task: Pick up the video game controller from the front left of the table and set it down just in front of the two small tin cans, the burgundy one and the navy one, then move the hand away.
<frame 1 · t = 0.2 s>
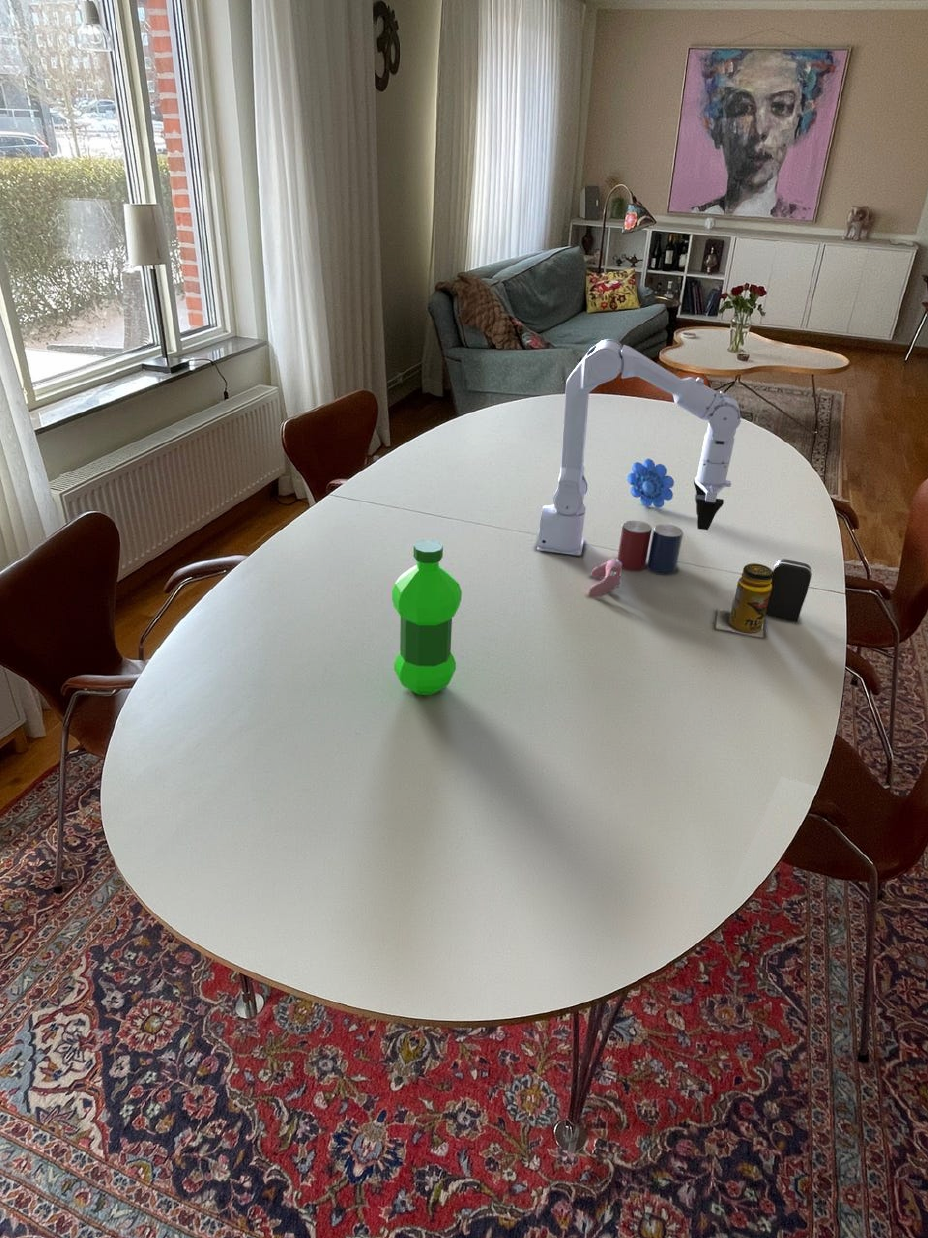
hand: (702, 521, 173), 10 cm above the table, tool pointing down, fingers open, 7 cm apart
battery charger: (779, 616, 161), on the table
tin can navy: (661, 567, 176), on the table
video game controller: (604, 589, 167), on the table
plastic bottle: (424, 686, 135), on the table
tin can burgundy: (631, 563, 177), on the table
blue flower: (645, 508, 205), on the table
condiment: (739, 625, 157), on the table
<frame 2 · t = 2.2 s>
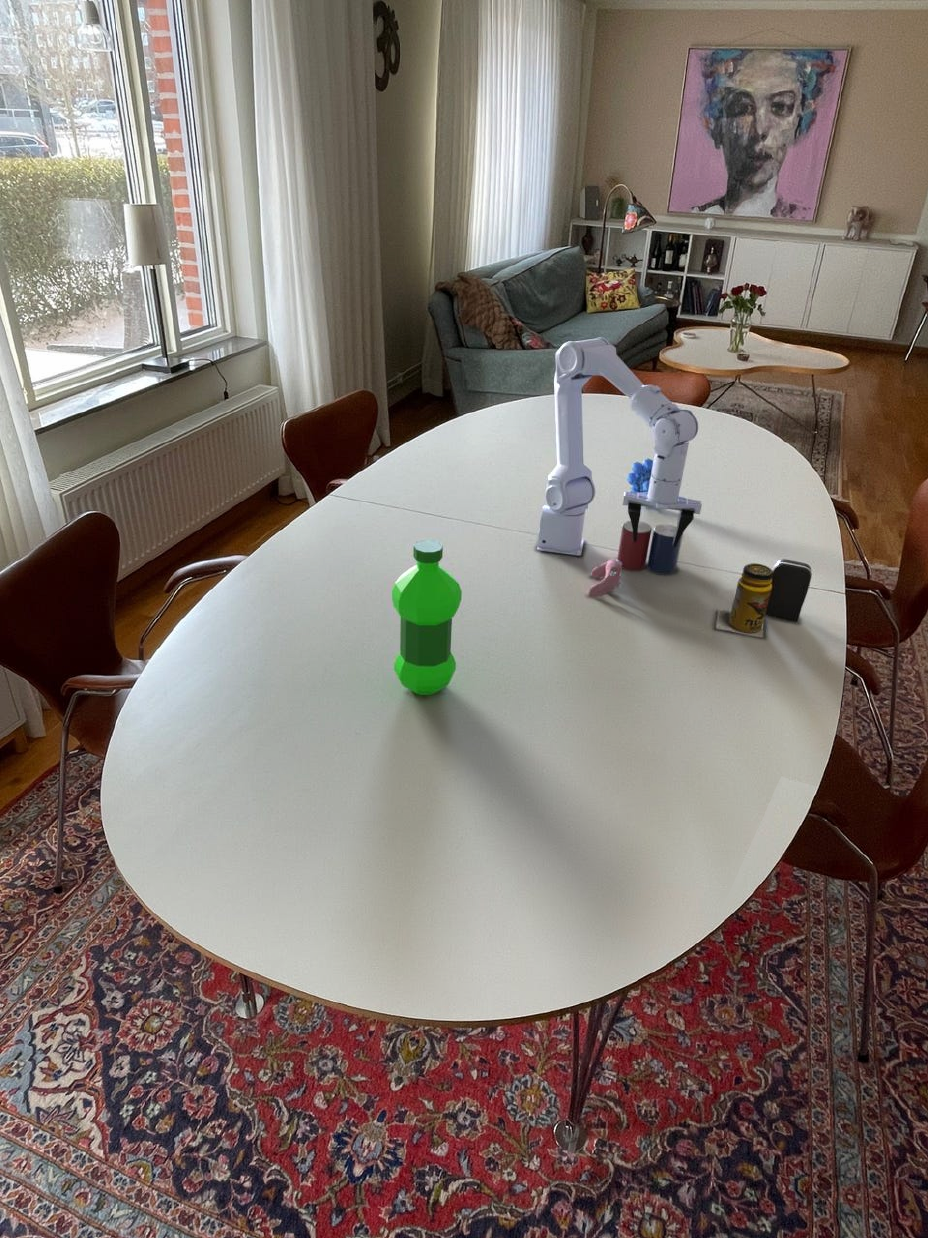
hand: (654, 542, 163), 10 cm above the table, tool pointing down, fingers open, 7 cm apart
nothing on the table moved.
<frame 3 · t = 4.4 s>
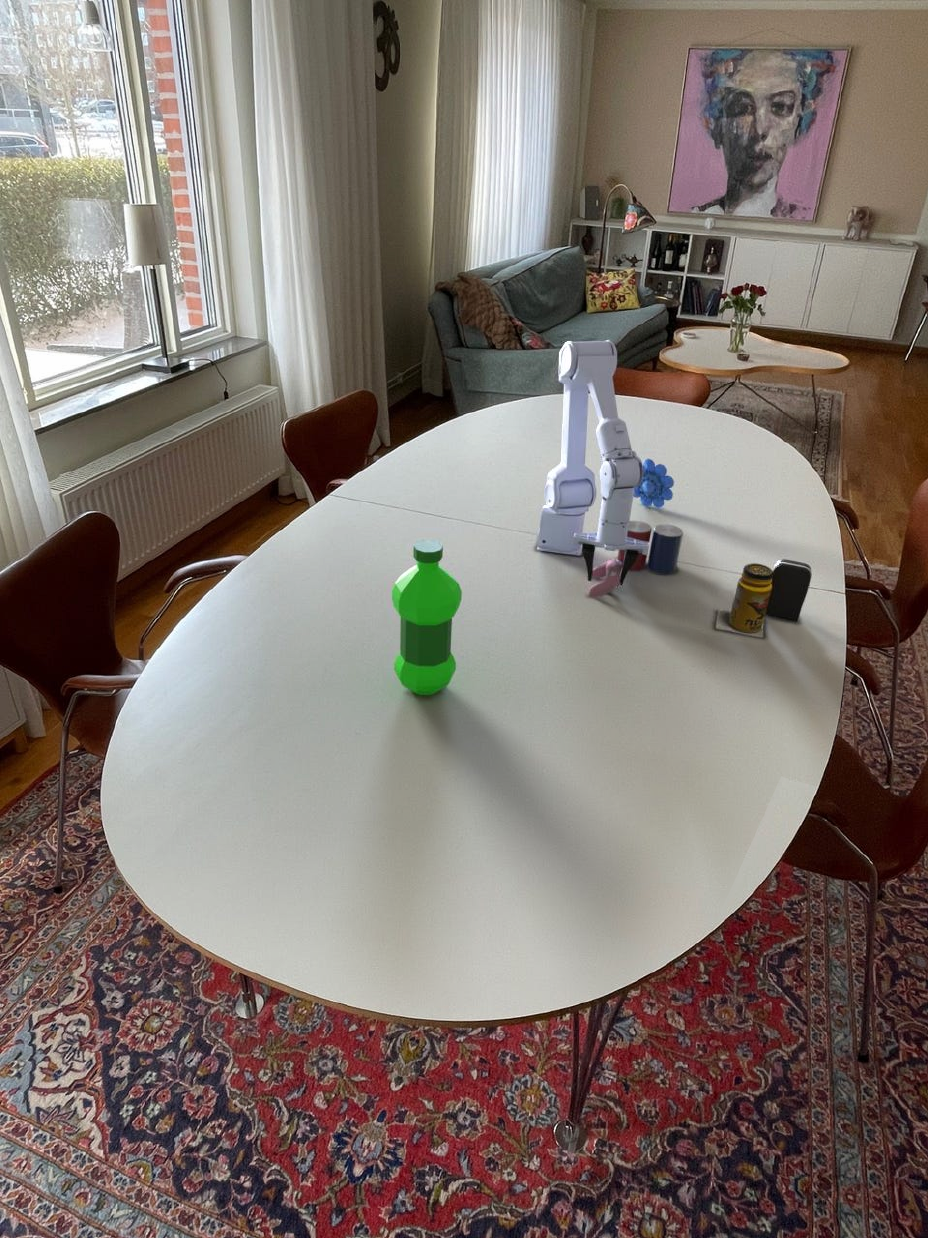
hand: (605, 581, 166), 2 cm above the table, tool pointing down, fingers closed on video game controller, 5 cm apart
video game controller: (604, 589, 167), on the table, touching gripper
everything else where it was.
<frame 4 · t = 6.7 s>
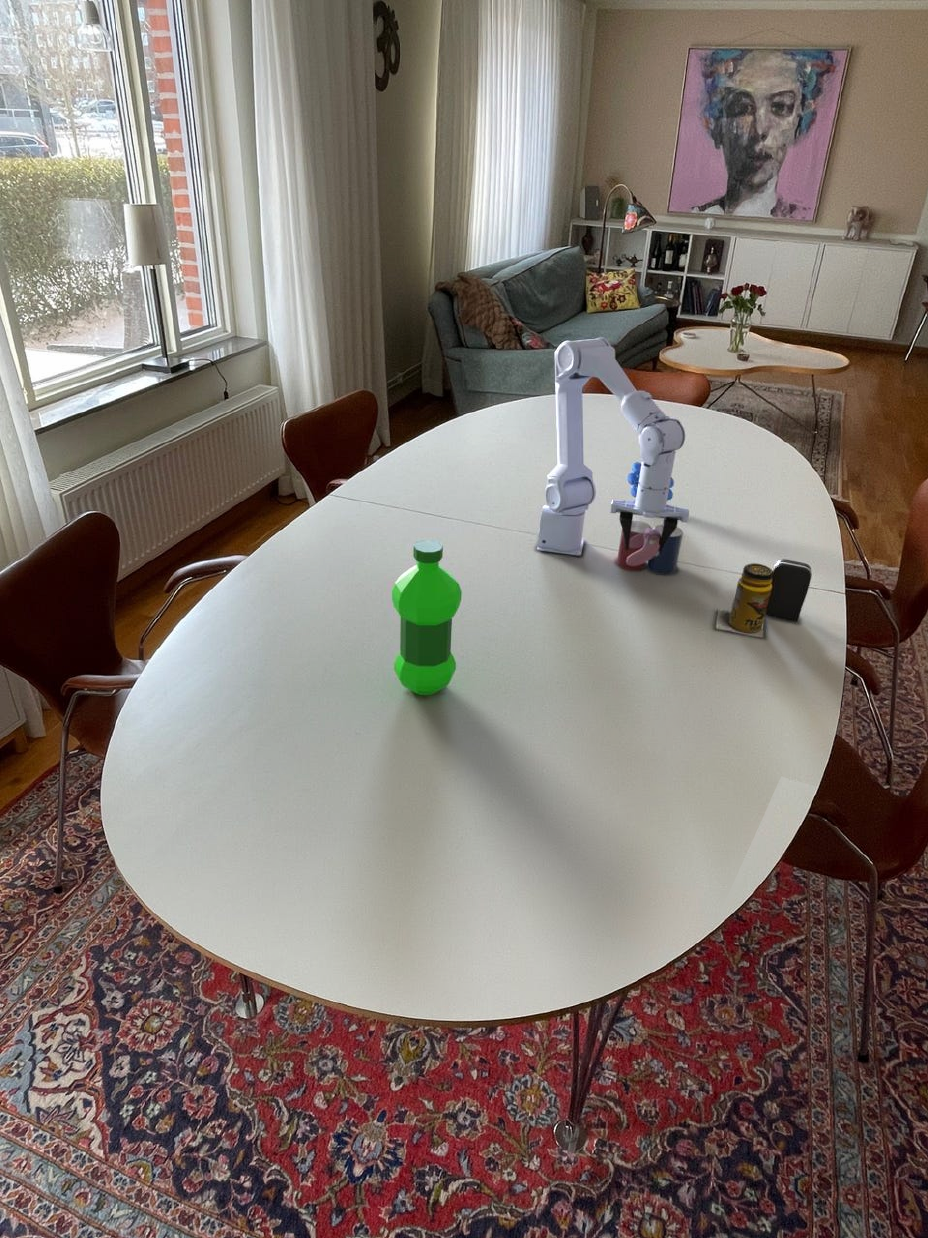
hand: (642, 550, 163), 9 cm above the table, tool pointing down, fingers closed on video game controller, 5 cm apart
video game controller: (641, 558, 164), point 7 cm above the table, touching gripper
everything else where it was.
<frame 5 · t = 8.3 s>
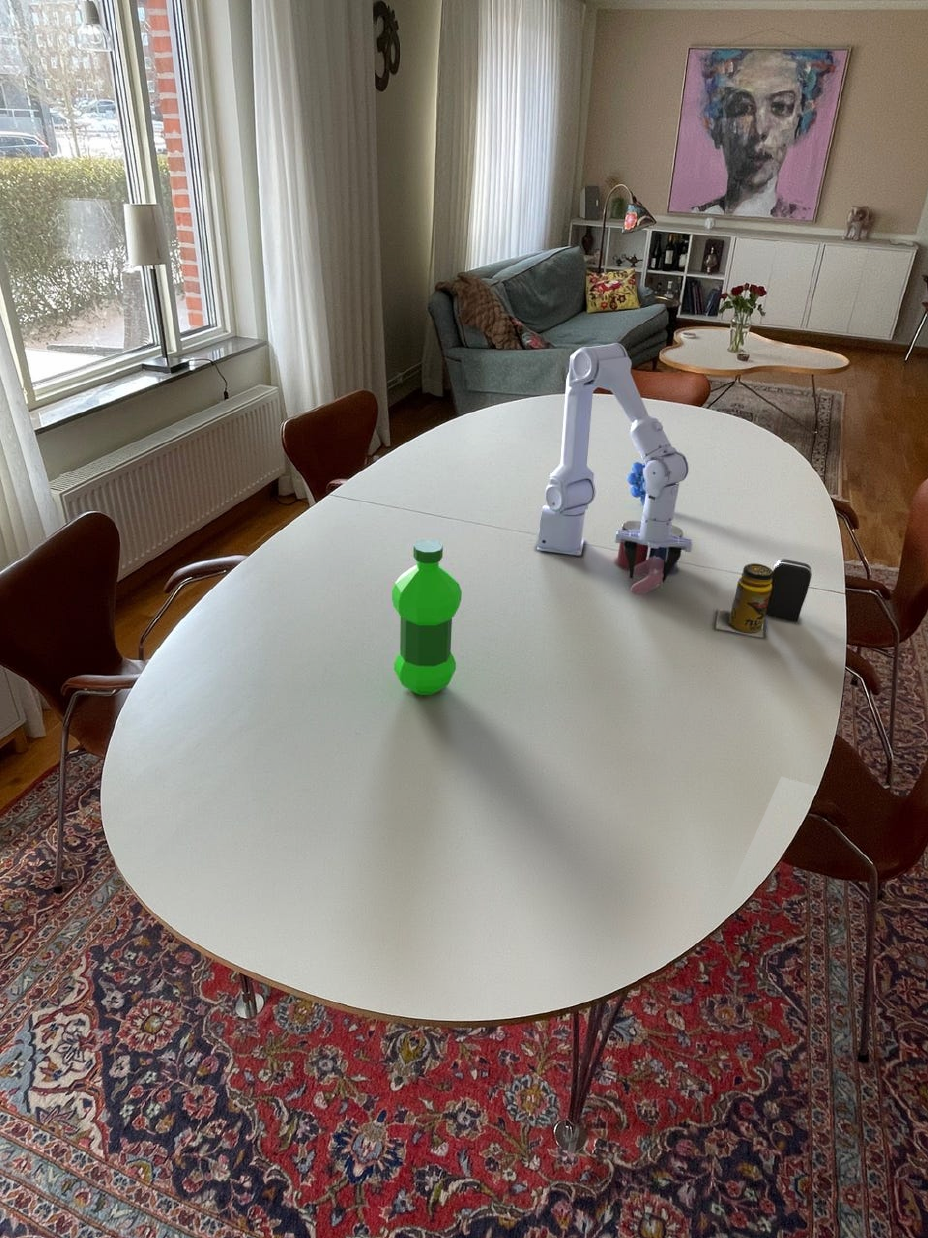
hand: (646, 578, 166), 3 cm above the table, tool pointing down, fingers closed on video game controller, 5 cm apart
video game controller: (645, 586, 167), point 1 cm above the table, touching gripper
everything else where it was.
when the fingers open (2 cm above the table, at t = 9.2 s): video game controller stays where it is, on the table.
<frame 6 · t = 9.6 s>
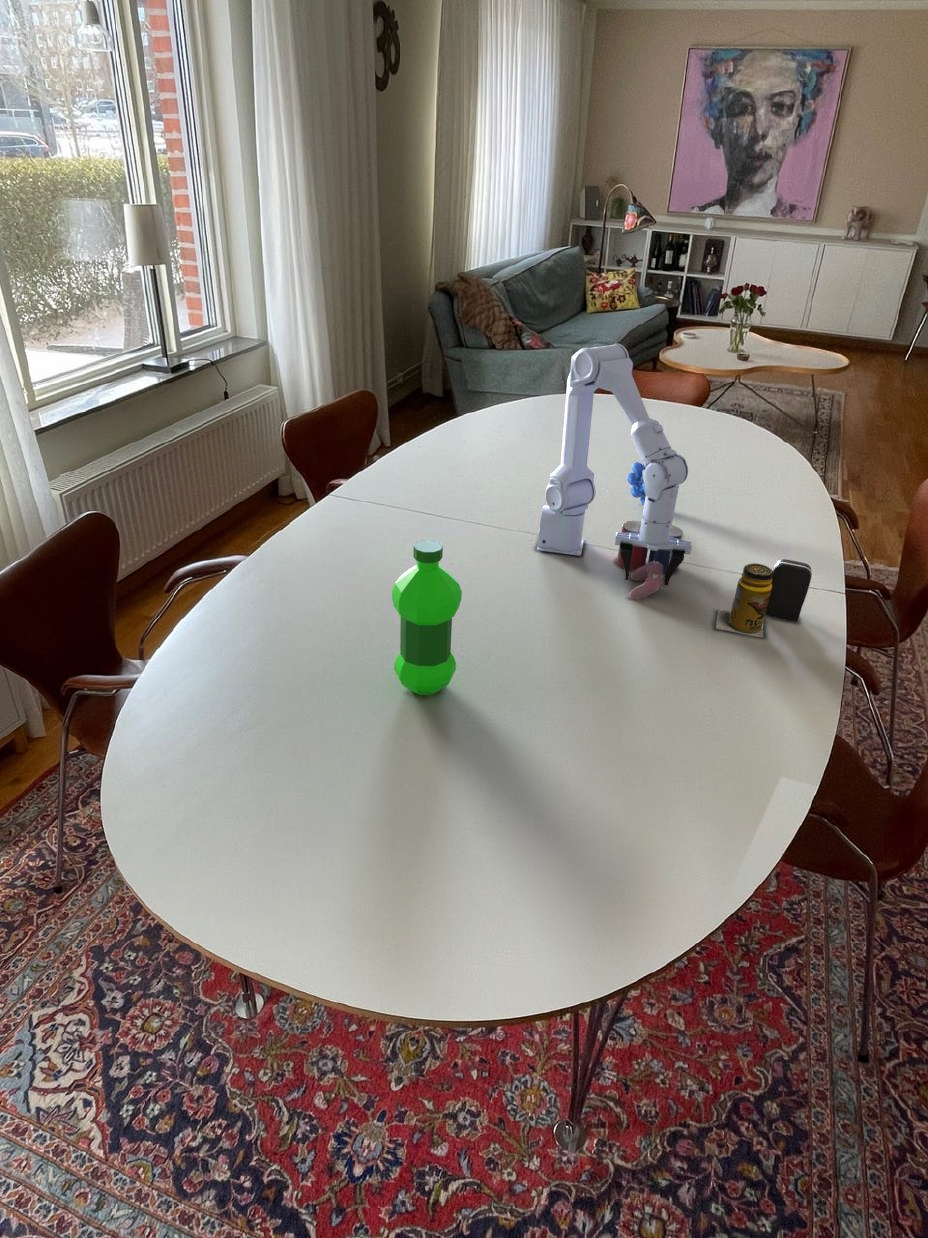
hand: (646, 580, 166), 2 cm above the table, tool pointing down, fingers open, 7 cm apart
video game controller: (644, 591, 167), on the table
everything else where it was.
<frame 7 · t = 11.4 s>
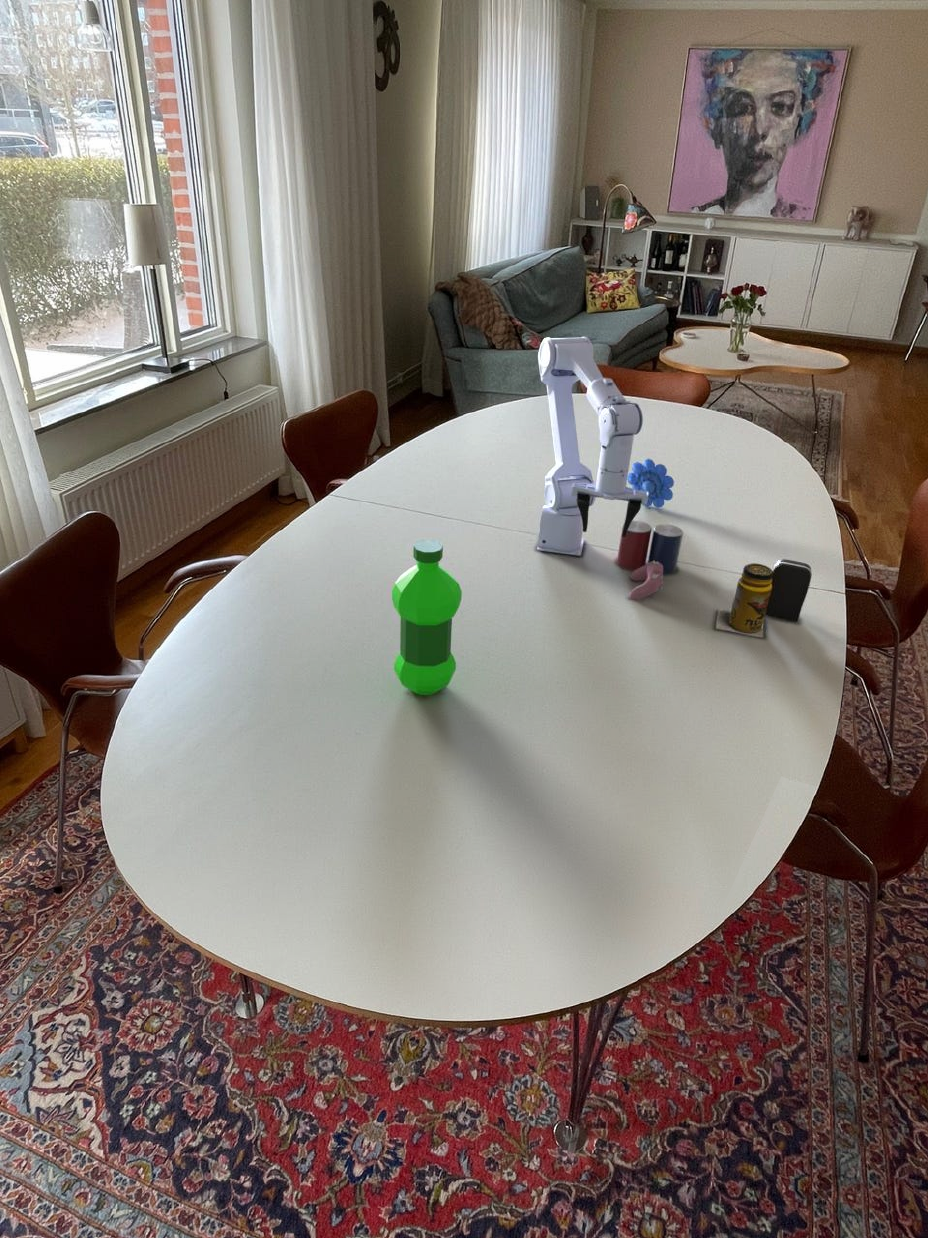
hand: (604, 532, 166), 10 cm above the table, tool pointing down, fingers open, 7 cm apart
nothing on the table moved.
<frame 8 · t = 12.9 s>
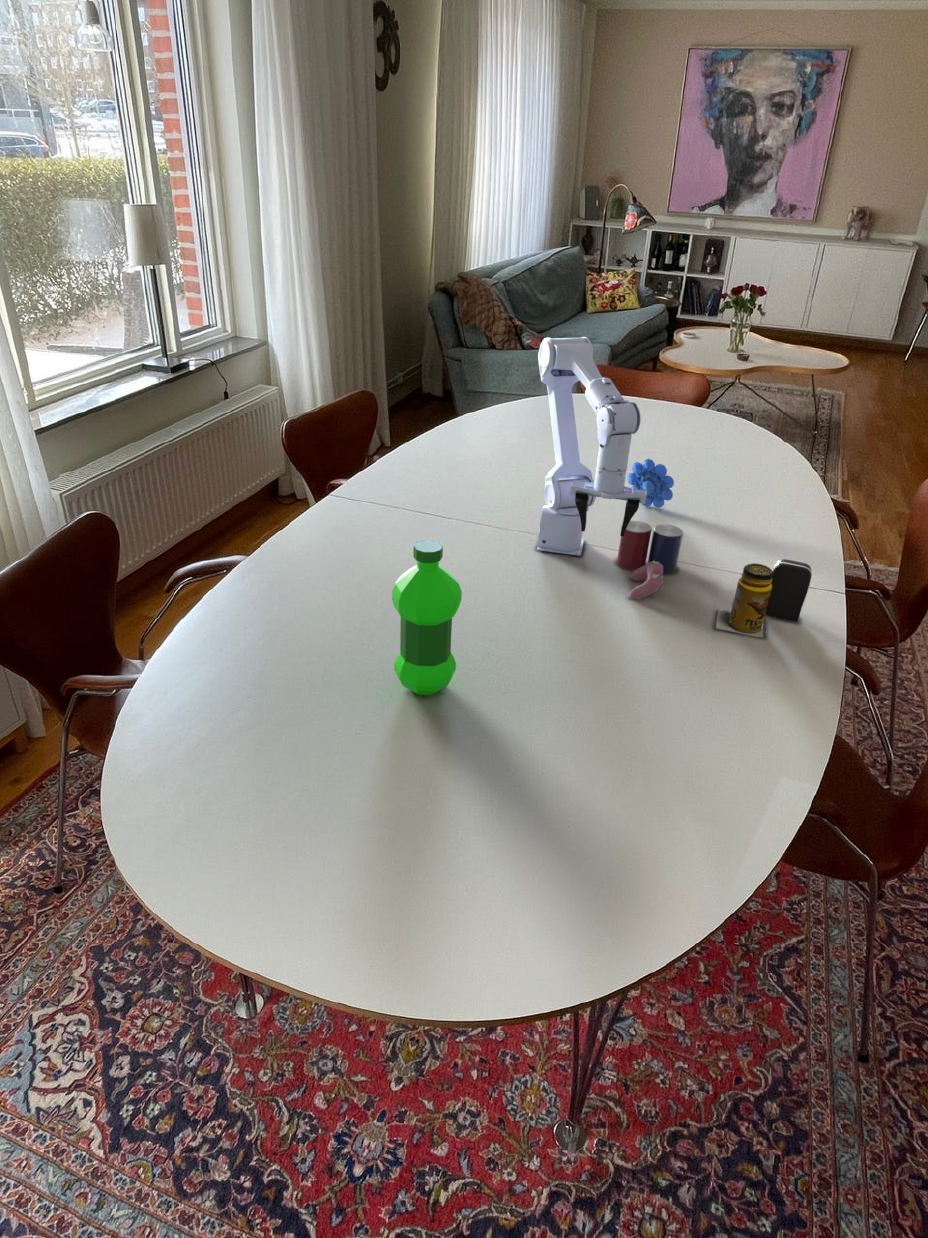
hand: (602, 531, 166), 10 cm above the table, tool pointing down, fingers open, 7 cm apart
nothing on the table moved.
at the end: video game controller 0.3 cm from the target spot, on the table; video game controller tilted 0°; the gripper is holding nothing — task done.
